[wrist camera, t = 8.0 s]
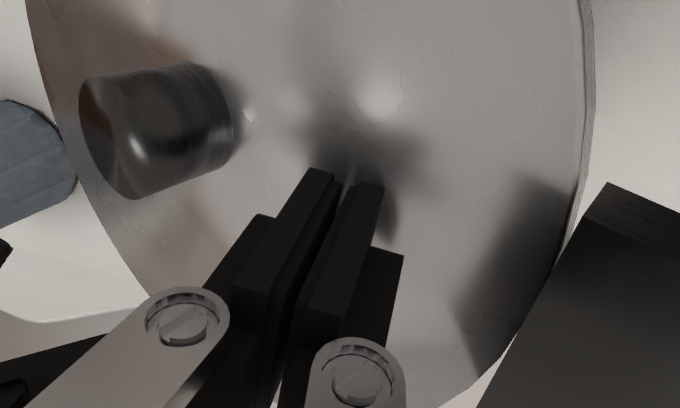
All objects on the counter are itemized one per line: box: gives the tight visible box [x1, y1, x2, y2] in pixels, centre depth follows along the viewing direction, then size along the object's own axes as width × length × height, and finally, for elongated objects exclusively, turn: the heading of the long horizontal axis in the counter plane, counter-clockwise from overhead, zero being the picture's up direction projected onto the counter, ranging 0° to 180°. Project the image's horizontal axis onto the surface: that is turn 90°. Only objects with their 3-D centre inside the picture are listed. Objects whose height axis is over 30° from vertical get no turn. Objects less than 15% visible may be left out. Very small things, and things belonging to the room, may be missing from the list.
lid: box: [25, 0, 680, 408], centre depth 12 cm, size 22×19×4 cm
